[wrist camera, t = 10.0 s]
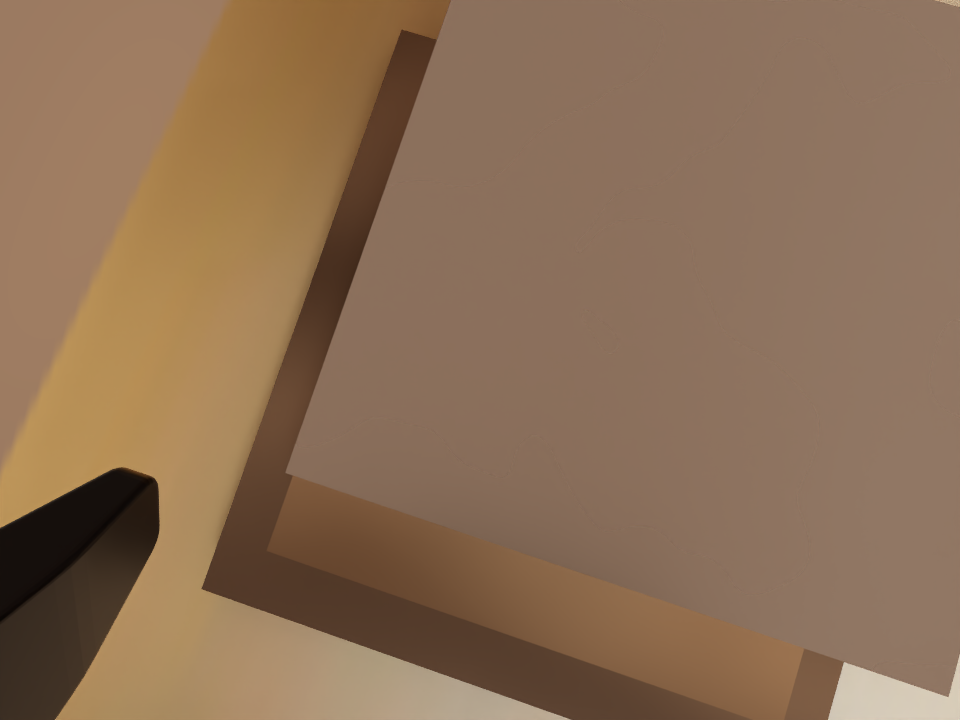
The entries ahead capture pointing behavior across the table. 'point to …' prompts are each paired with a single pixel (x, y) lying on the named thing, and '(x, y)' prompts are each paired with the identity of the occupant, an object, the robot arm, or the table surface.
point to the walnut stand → (471, 548)
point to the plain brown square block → (677, 312)
